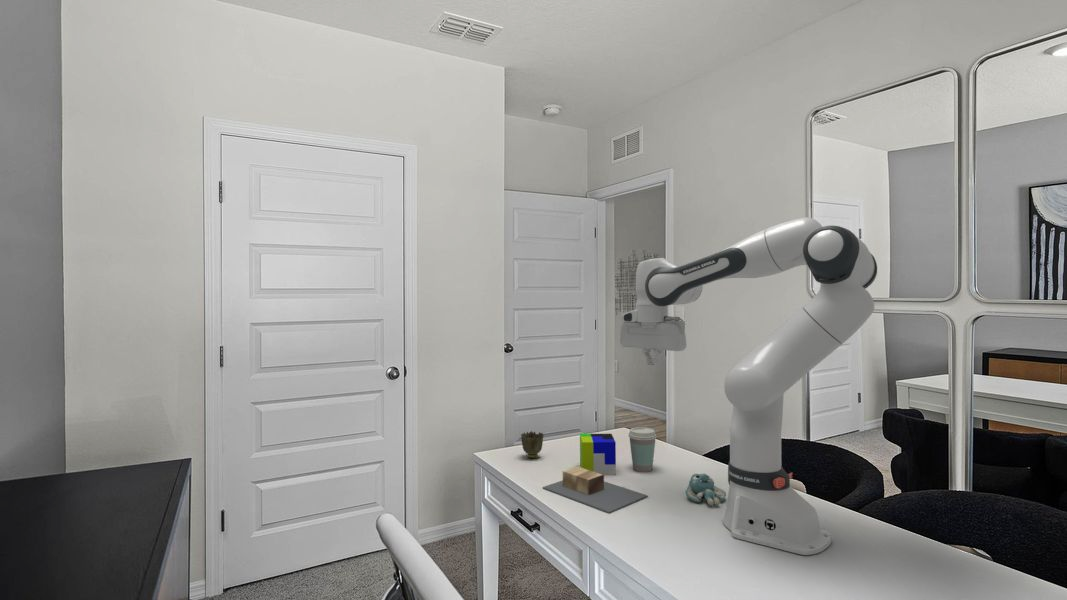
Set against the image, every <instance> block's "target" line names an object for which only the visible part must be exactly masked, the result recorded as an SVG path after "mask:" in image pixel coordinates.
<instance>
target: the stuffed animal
mask: <svg viewBox="0 0 1067 600" xmlns="http://www.w3.org/2000/svg"><path fill="white" fill-rule="evenodd" d="M685 495H686V497H687V499H688V500H691V501H692V502H694V503H699V504H701V503H702V502H703V498H704V499H705V500H706V502H707V504H708V505H709V506H714V505H715V506H719V505H720V504H721V503H722V502H723V501H724V499H725V497H726V496H727V494H726V491H725V490H723V489H721V488H719V487H717V486H716V485H715V481H714V479H713V477H711V476H709V475H708V474H707V473H694V474H692V475H691V477H690V479H689V481H688V485H687V487H686V489H685Z"/></svg>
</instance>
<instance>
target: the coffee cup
mask: <svg viewBox="0 0 1067 600" xmlns="http://www.w3.org/2000/svg"><path fill="white" fill-rule="evenodd" d="M628 438H629V443H630V444H629V445H630V453H631V461H632V469H633V470H635V471H637V472H641V473H648V472H651V471H653V467H654V456H655V449H656V446H655V445H656V439H657V434H656V431H655V429H653V428H650V427H645V426H644V427H643V426H641V427H640V426H639V427H633V428H630V430H629V433H628Z"/></svg>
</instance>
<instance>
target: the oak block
mask: <svg viewBox="0 0 1067 600" xmlns="http://www.w3.org/2000/svg"><path fill="white" fill-rule="evenodd" d="M562 480H563V486H566V487H569V488H571V489H574V490H577V491H580V492H583V493H585V494H588V495H590V494H593V493H596V492H598V491H601V490H604V481H605V475H603V474H599V473H596V472H593V471H590V470H587V469H583V468H581V466H575V467H572V468H568V469H566V470H562Z"/></svg>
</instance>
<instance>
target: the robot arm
mask: <svg viewBox="0 0 1067 600" xmlns="http://www.w3.org/2000/svg"><path fill="white" fill-rule="evenodd" d="M800 266H807V267H808V269H809V270H810V273H811V275H812V276H813V279H814V280H815V281H816V282H818V283H820V287H819V290H818V292H817V293H816V294H815V296H813V297H812V298H811V299H810V300H809V301H808V302H807V303H806V304H804V305H803V306H802V307H801V308H800V309H799V310H798V311H796V312H795V313H794V314H793V315H792V316H790V318H788V319H787V320H786V321H785V322H784V323H783V324H782V325H780V326H779V327H778V328H777V329H776V330H775V331H774V332H772V333H771V334H770V335H768V336H767V337H766V338H765V339H764V340H762V341H761V342H760V343H759V344H757V346H755V347H754V348H753V349H752V350H750V352H748V353H747V354H746V355H745V356H743V357H742V358H741V359H740V360H738V362H736V363H735V364H734V365H732V367H731V368H730V369H729V370H728V371H727V374H726V376H725V379H724V382H723V383H724V385H723V386H724V393H725V396H726V399H728V401H729V402H730V404H731V405H732V415H731V421H730V427H729V461H728V465H727V467H728V469H727V481H728V482H727V483H728V485H729V488H728V497H727V505H726V508H725V513H724V515H723V520H722V524H723V525H724V526H725V528H726V529H728V530H729V531H730V534H731V536H732V537H733V538H735V539H738V540H742V541H747V542H749V543H750V542H751V543H753V544H758V545H762V546H765V547H769V548H772V549H778V550H781V551H784V552H788V553H792V554H798V555H801V556H812V555H816V554H819V553H821V552H823V551H825V550H826V549H827V548H828V547H829V546H830V545H831V543H832V535H831V533H830V532H829V530H826V529H823V528H821V526H820V520H819V516H818V512H817V510H816V508H815V507H814V506H813V505H812V504H810V503H809V501H807V500H806V499H805V498H804V497H802V496H801V494H799V493H798V492H797V491H796V489H794V488H793V487H792V486H791V483H790V482H791V479H793V474H794V473H793V472H790V473H788V472H786V471H785V469H784V468H783V466H782V427H783V426H782V425H783V414H784V411H783V410H784V395H785V393H786V392H787V391H789V389H790V388H792V387H793V386H794V385H795V384H797V382H798V381H800V380H801V379H802V378H803V377H804V376H806V375H807V374H808V373H809V372H810V371H811V370H813V369H815V368H816V367H817V365H819V364H820V363H821V362H822V361H823V360H825V359H826V358H827V357H828V356H829V355H831V354H832V353H833V352H835V350H837V349H838V348H839V347H841V346H842V345H843V344H844V343H845V342H846V341H848V340H849V339H850V338H851V337H852V336H853V335H854V334H855V333H856V332H857V331H858V330H859V329H860V328H861V327H862V326H863V325H864V324H865V323H866V322H867V320H869V318H870V317H871V316H872V314H873V313H874V310H875V302H874V301H875V300H874V299H873V297H872V295H871V293H870V292H869V291H868V287H870V286H871V285H872V284H873V283H874V282H875V279H876V277H877V275H878V264H877V261H876V258H875V256H874V255H873V254H872V253H871V251H870V250H869V248H868V246H867V244H866V243H865V242H863V241H862V239H860V238H859V237H858V236H856V234H854V232H852V231H851V230H849V229H848V228H846V227H843V226H840V225H825V226H822V225H821V223H820V222H819V221H818V220H816V219H815V218H812V217H800V218H795V219H792V220H787V221H785V222H781V223H778V224H775V225H773V226H770V227H767V228H766V229H762V230H760V231H758V232H756V233H754V234H752V235H749V236H748V237H745V238H744V239H741V240H740V241H738V242H736V243H734V244H732V245H730V246H728V247H726V248H724V249H722V250H719V251H718V252H715V253H713V254H710V255H708V256H705V257H702V258H700V259H699V258H698V259H697V260H694V261H692V262H688V263H686V264H683V265H679V266H677V265H676V264H673V263H671V262H669V261H668V260H667V259H666V258H665V257H660V256H659V257H650V258H649V257H648V258H646V259H643V260H641V261H640V262H639V263H638V265H637V268H636V275H635V293H636V302H635V309H633V310H631V311H628V312H625V313H623V314H621V315H620V316H621V317H620V318H621V319H620V320H621V322H622V323H621V325H620V330H619V333H620V334H619V341H620V345H621V346H622V347H623V348H634V349H636V348H637V349H642V354H643V356H644V358H645V364H646V365H647V366H656V367H657V366H658V365H659V359H660V357H661V355H662V354H663V351H671V352H682V351H685V350H686V348H687V337H686V331H685V329H686V323H685V321H684V320H683V319H682V318H681V317H680V316H670V315H669V306H674V305H675V306H676V305H689V304H691V303H693V302H696V301H697V300H698V299H699V297H700V296H701V295H702V292H703V286H705V285H707V284H710V283H711V284H712V282H717V281H721V280H726V279H757V278H765V277H768V276H773V275H777V274H779V273H783V272H786V271H788V270H790V269H794V268H796V267H800ZM652 351H653V357H652V355H651V353H650V352H652Z"/></svg>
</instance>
